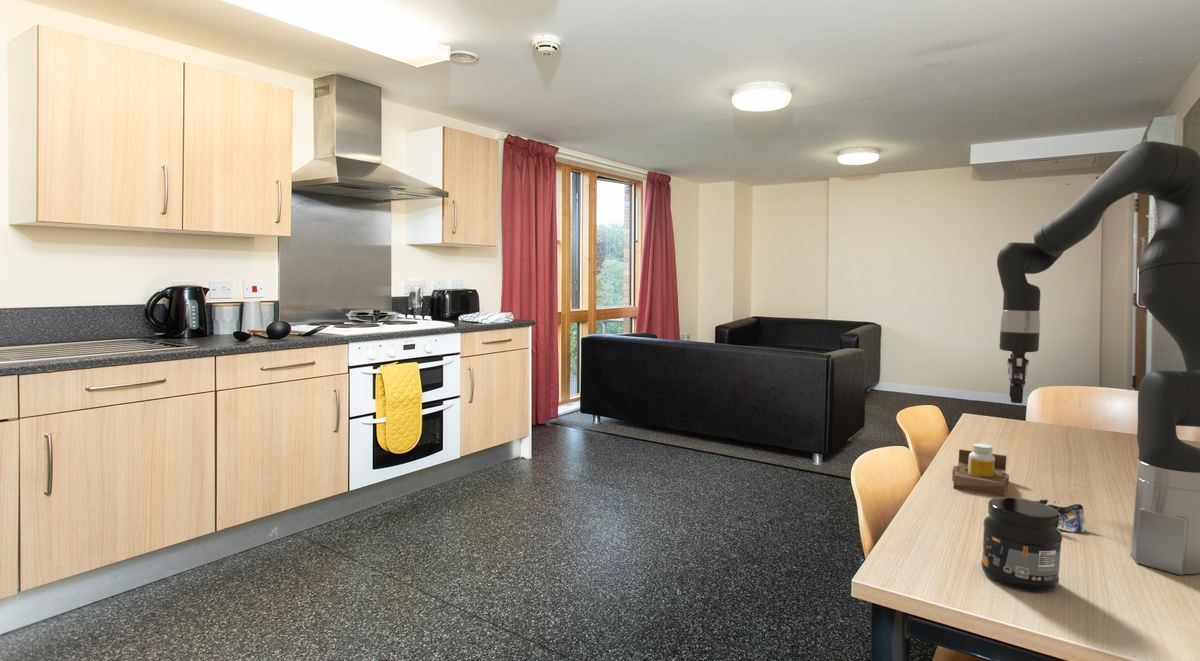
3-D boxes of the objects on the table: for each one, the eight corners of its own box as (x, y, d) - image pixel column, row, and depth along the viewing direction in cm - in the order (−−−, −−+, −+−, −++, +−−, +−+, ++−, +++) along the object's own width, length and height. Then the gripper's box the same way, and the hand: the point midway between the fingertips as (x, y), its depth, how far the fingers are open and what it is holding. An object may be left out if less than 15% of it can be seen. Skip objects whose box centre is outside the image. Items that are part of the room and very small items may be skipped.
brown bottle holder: (1007, 497, 141) (1009, 471, 141) (950, 487, 148) (951, 462, 147) (1008, 480, 154) (1009, 456, 154) (955, 471, 160) (956, 448, 160)
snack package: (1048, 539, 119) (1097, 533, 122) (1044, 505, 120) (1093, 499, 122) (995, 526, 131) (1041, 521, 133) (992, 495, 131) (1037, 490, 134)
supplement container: (989, 558, 109) (993, 491, 108) (1063, 579, 102) (1069, 506, 101) (973, 578, 102) (977, 506, 101) (1052, 602, 95) (1058, 524, 94)
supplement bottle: (962, 480, 153) (965, 442, 152) (986, 481, 152) (988, 442, 152) (973, 488, 148) (976, 447, 147) (997, 489, 147) (1000, 448, 146)
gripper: (1041, 332, 136) (1037, 406, 137) (1037, 329, 148) (1033, 398, 149) (1000, 330, 140) (996, 403, 141) (999, 328, 152) (996, 394, 153)
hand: (1015, 400), depth 145 cm, fingers open, 8 cm apart
